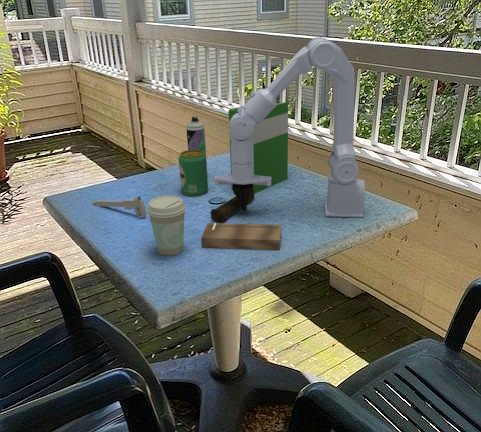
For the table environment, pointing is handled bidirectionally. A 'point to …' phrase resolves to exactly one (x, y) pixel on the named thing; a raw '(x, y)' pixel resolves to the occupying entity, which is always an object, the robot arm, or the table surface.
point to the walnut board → (241, 236)
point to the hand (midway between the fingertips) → (243, 210)
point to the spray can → (196, 135)
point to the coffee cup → (168, 223)
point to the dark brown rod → (228, 208)
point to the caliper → (126, 205)
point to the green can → (193, 172)
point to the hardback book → (269, 145)
